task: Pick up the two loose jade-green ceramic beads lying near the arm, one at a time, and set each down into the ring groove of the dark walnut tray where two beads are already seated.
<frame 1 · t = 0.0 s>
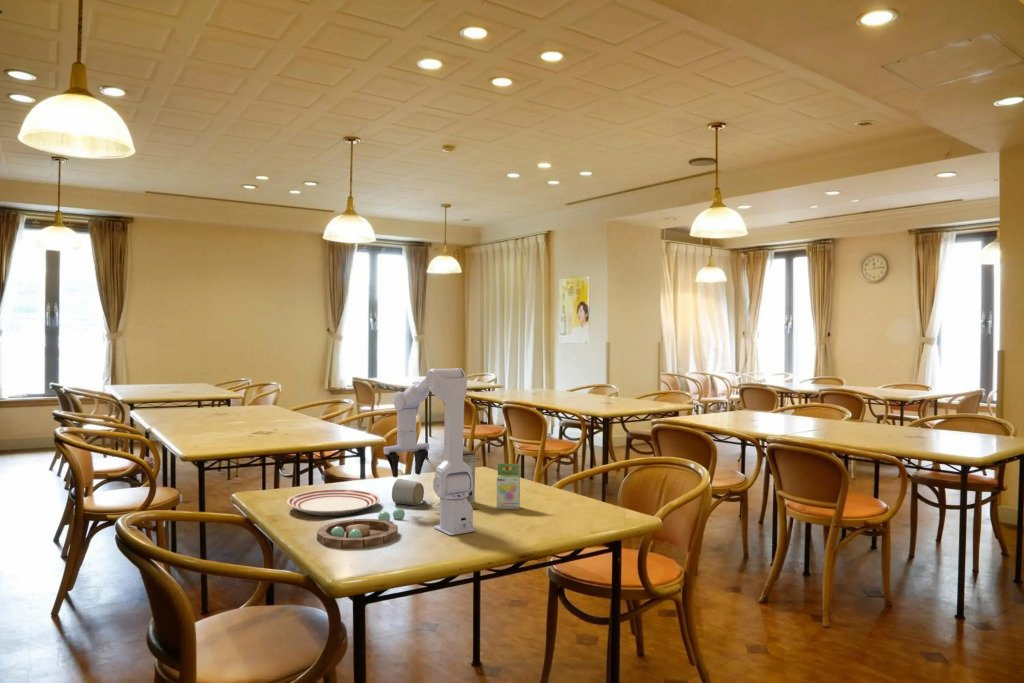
hand: (406, 475, 216), 10 cm above the table, tool pointing down, fingers open, 7 cm apart
bead a: (398, 520, 202), on the table
dinner plate: (334, 509, 216), on the table
ceramic mug: (409, 503, 223), on the table
coffee box: (458, 502, 225), on the table
ink box: (508, 508, 217), on the table
bead b: (384, 523, 198), on the table
ring tray: (358, 538, 183), on the table
bead d seated: (355, 542, 178), point 1 cm above the table, touching ring tray
bead c seated: (337, 540, 180), point 1 cm above the table, touching ring tray
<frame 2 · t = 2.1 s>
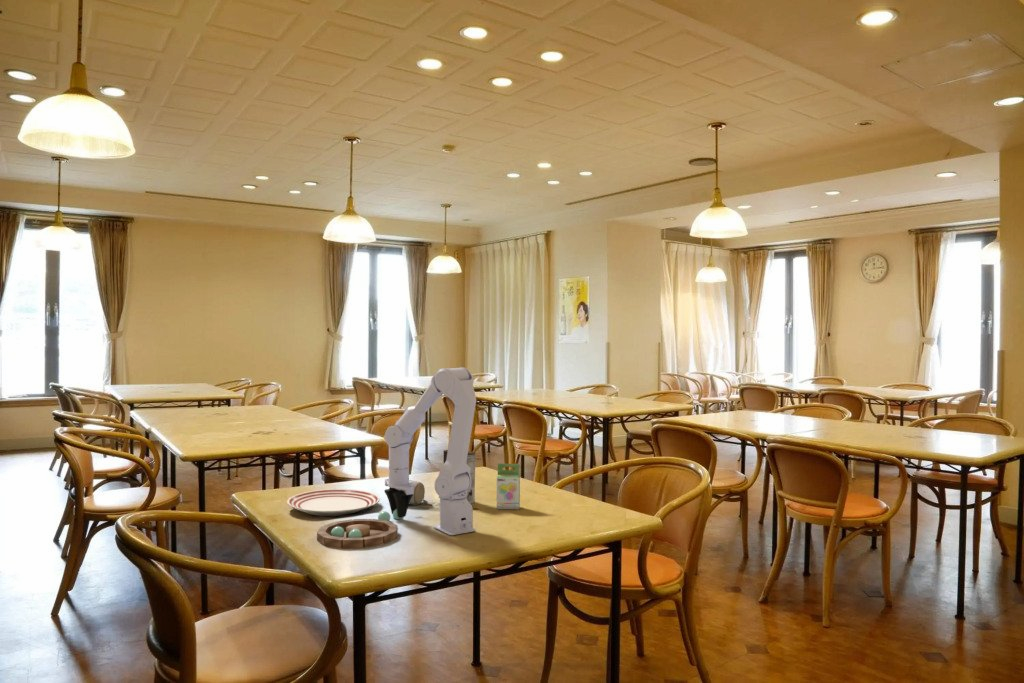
hand: (398, 515, 202), 1 cm above the table, tool pointing down, fingers closed on bead a, 3 cm apart
bead a: (398, 520, 202), on the table, touching gripper
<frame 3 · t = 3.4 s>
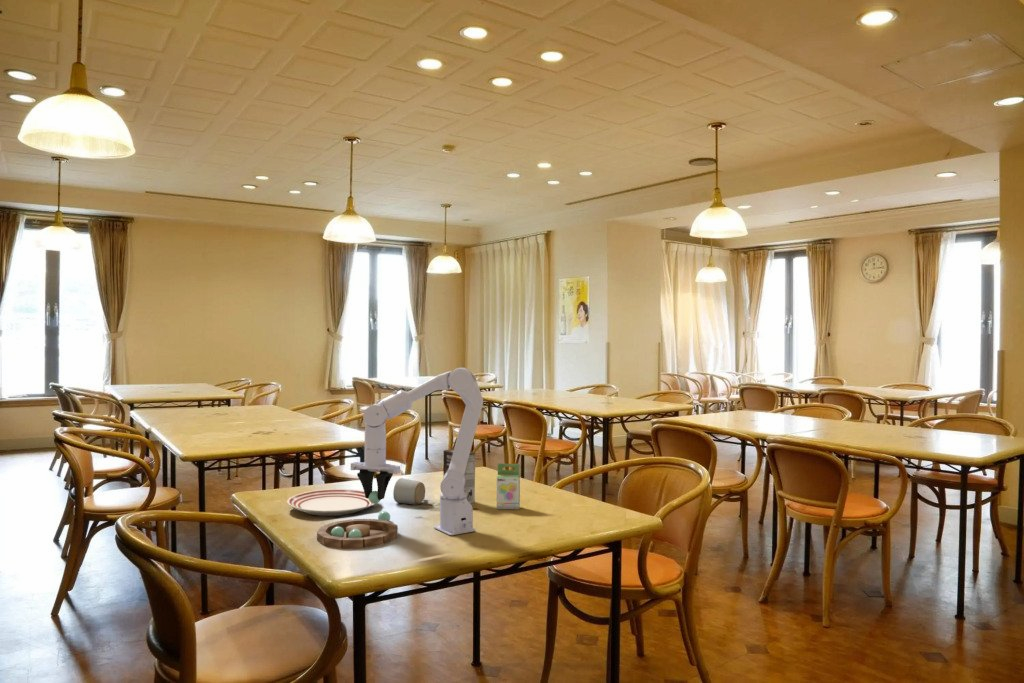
hand: (374, 498, 192), 8 cm above the table, tool pointing down, fingers closed on bead a, 3 cm apart
bead a: (374, 503, 192), point 7 cm above the table, touching gripper
when the fingers open (4 cm above the table, at t = 4.9 s): bead a drops 2 cm, resting on ring tray.
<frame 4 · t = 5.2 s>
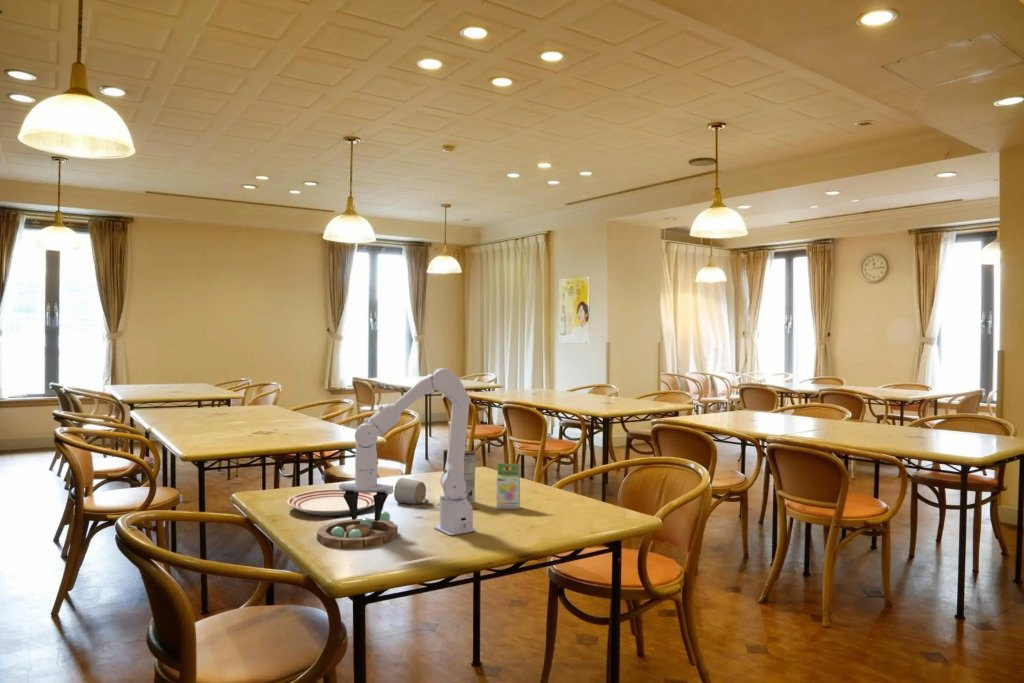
hand: (366, 519, 189), 4 cm above the table, tool pointing down, fingers open, 6 cm apart
bead a: (365, 530, 189), point 1 cm above the table, touching ring tray
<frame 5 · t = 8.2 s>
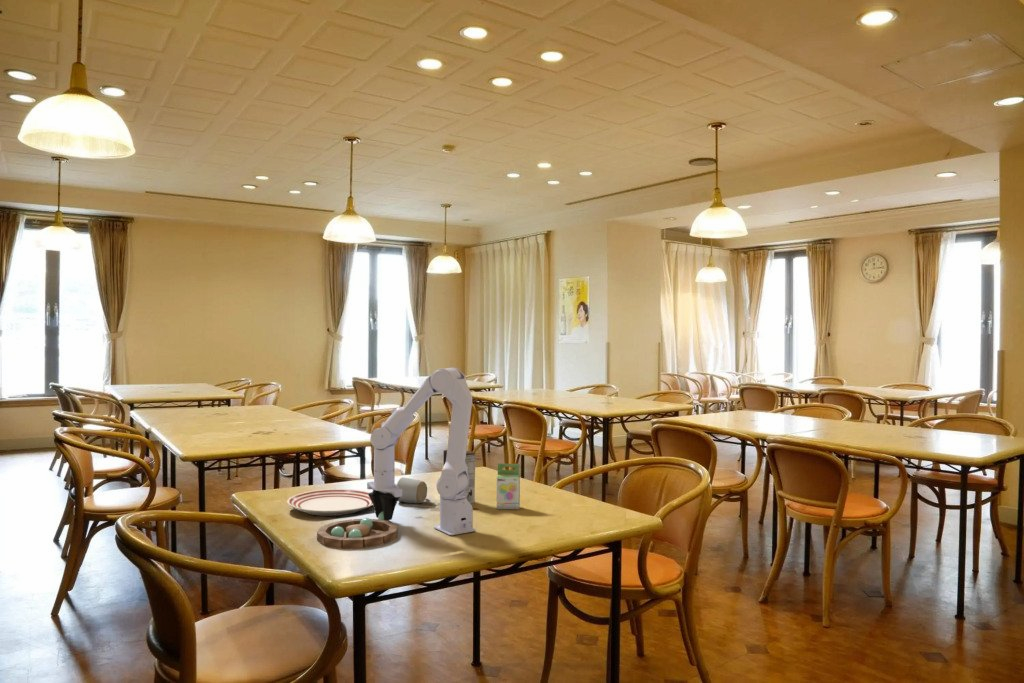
hand: (384, 518, 198), 1 cm above the table, tool pointing down, fingers closed on bead b, 3 cm apart
bead b: (384, 523, 198), on the table, touching gripper
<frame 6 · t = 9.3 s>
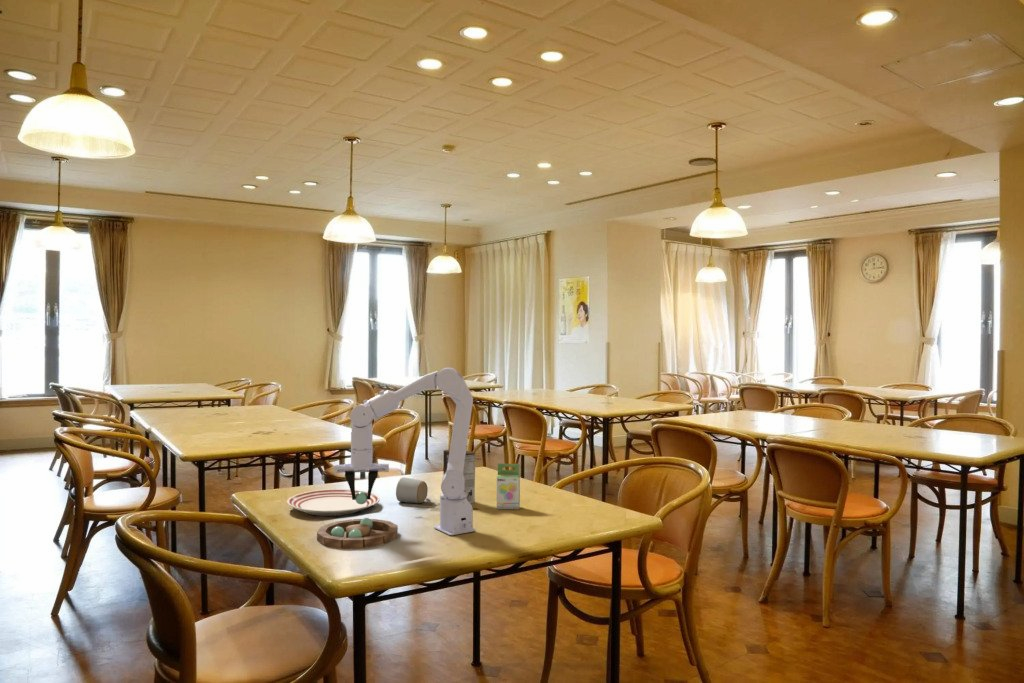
hand: (361, 498, 191), 9 cm above the table, tool pointing down, fingers closed on bead b, 3 cm apart
bead b: (361, 504, 191), point 7 cm above the table, touching gripper
when the fingers open (4 cm above the table, at t = 10.8 s): bead b drops 2 cm, resting on ring tray.
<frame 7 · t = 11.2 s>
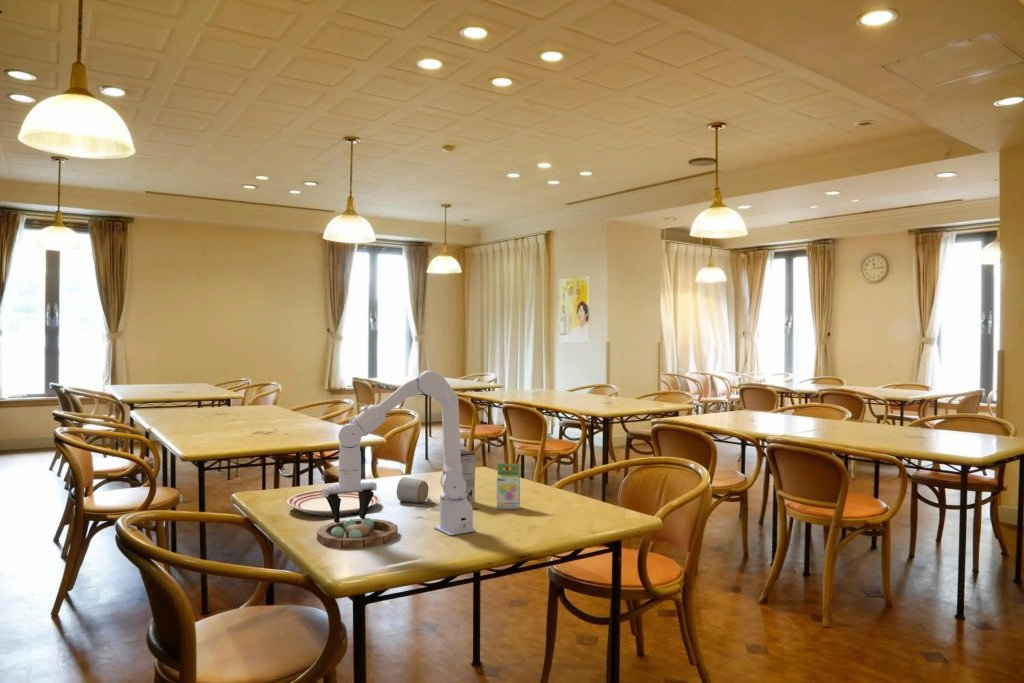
hand: (349, 520, 188), 4 cm above the table, tool pointing down, fingers open, 7 cm apart
bead a: (365, 530, 189), point 1 cm above the table, tilted 14°, touching gripper, ring tray
bead b: (349, 531, 188), point 1 cm above the table, touching ring tray
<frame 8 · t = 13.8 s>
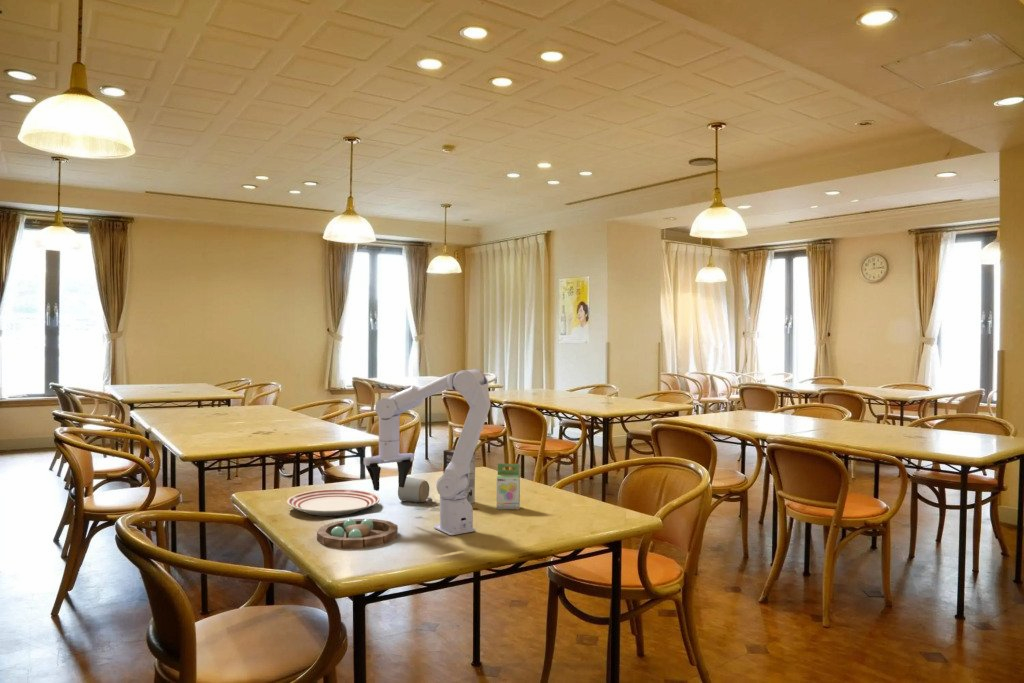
hand: (389, 488, 198), 10 cm above the table, tool pointing down, fingers open, 7 cm apart
bead a: (365, 530, 189), point 1 cm above the table, tilted 31°, touching ring tray
at the end: bead a inside the target area on the ring tray (5.4 cm from its centre), point 0.8 cm above the ring tray's base; bead b inside the target area on the ring tray (5.5 cm from its centre), point 0.6 cm above the ring tray's base; the gripper is holding nothing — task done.
